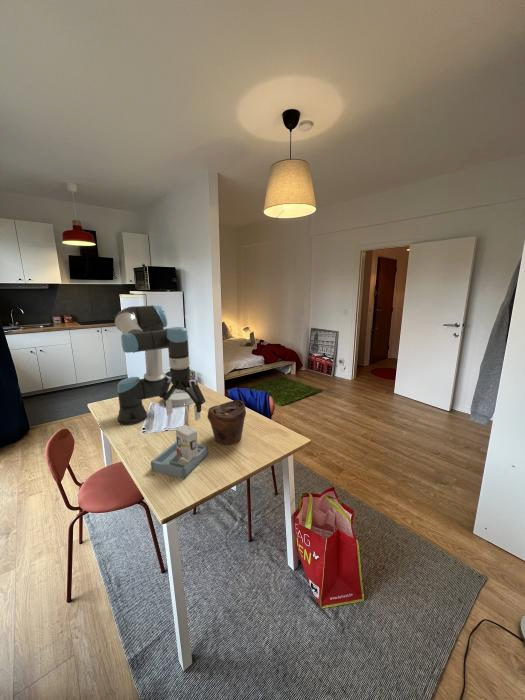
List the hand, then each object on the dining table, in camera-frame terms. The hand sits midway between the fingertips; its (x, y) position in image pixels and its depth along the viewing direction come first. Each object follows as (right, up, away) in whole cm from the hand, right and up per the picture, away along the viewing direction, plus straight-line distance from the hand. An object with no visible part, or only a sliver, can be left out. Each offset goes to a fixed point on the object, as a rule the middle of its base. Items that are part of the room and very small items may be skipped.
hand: (183, 416), depth 118 cm
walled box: (-3, -21, +6) cm, 22 cm away
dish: (-21, -6, +72) cm, 75 cm away
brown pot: (+15, -17, +24) cm, 33 cm away
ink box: (+1, -17, +4) cm, 18 cm away
